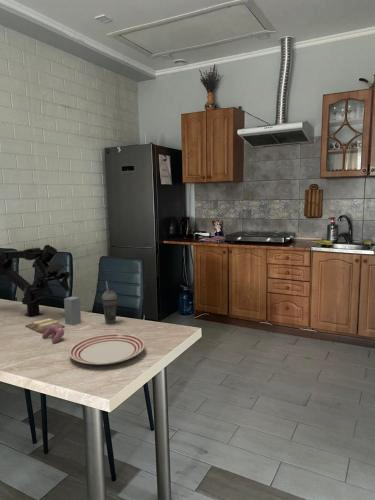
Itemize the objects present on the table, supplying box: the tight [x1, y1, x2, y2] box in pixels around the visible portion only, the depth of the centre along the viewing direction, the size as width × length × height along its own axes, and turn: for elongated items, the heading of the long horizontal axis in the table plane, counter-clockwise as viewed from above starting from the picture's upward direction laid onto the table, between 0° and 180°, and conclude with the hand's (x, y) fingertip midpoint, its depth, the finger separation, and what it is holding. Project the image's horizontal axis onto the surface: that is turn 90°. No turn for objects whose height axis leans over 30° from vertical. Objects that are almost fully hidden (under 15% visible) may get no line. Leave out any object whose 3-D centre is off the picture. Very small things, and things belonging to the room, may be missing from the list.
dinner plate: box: [68, 333, 146, 366], centre depth 140 cm, size 27×27×3 cm
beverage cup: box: [101, 280, 118, 325], centre depth 176 cm, size 7×7×20 cm
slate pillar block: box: [63, 295, 82, 326], centre depth 177 cm, size 5×5×12 cm
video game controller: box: [41, 325, 65, 345], centre depth 156 cm, size 10×5×7 cm, turn 47°
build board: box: [25, 317, 65, 335], centre depth 172 cm, size 15×11×3 cm
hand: (60, 292), depth 180 cm, fingers open, 9 cm apart
